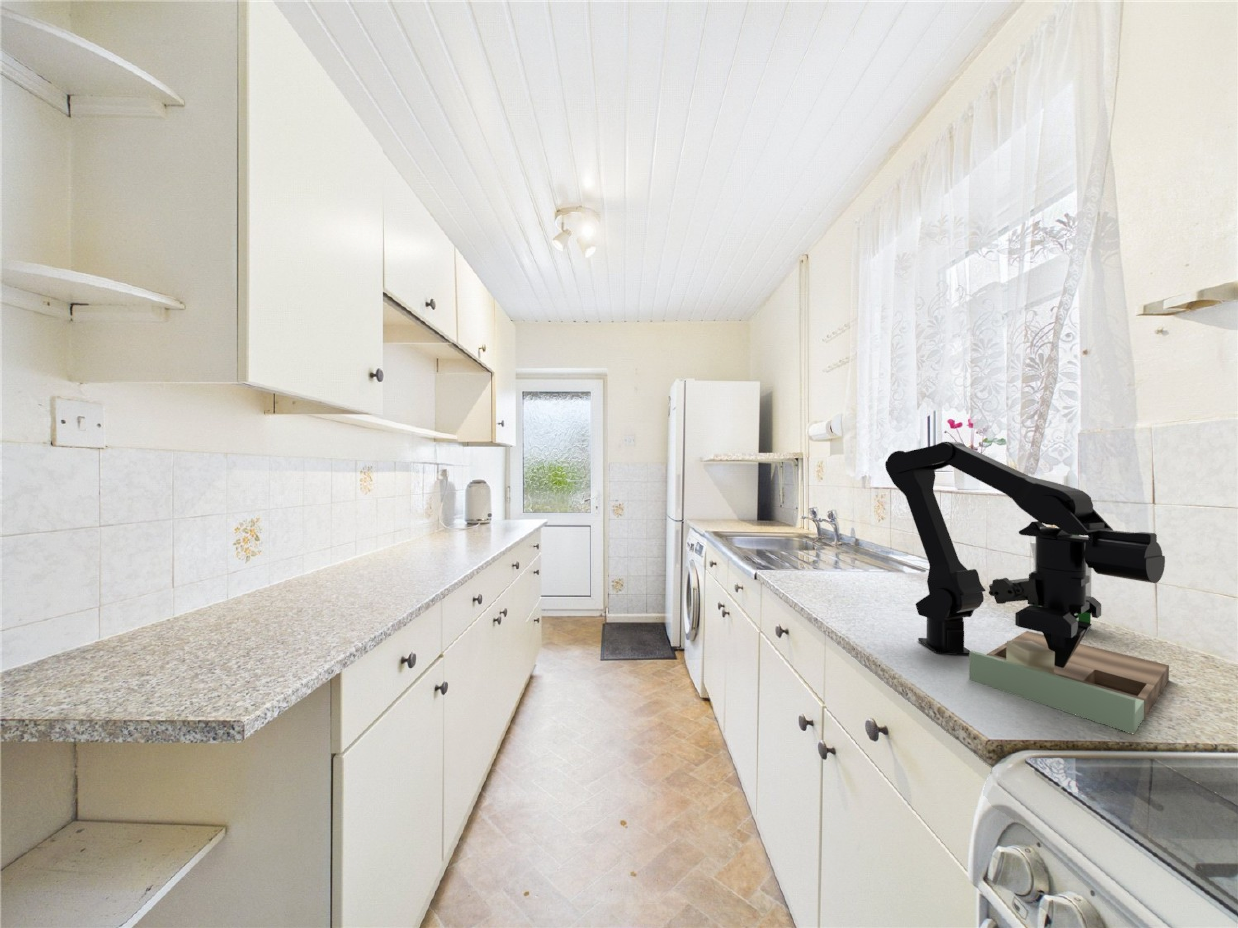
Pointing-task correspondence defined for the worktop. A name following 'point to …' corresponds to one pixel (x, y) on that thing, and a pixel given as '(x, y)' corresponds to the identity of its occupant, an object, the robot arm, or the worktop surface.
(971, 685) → the worktop surface
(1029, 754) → the worktop surface
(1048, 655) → the maple block
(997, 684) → the pad
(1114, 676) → the trap board
